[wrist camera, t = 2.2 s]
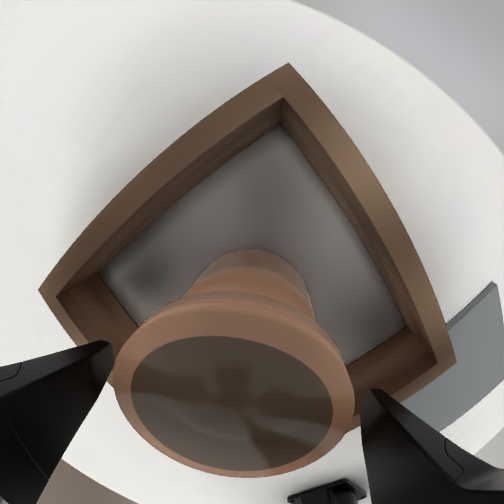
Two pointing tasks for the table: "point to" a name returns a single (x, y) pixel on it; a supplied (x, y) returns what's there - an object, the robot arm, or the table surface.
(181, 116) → the table surface
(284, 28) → the table surface
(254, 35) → the table surface
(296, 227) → the table surface
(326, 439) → the terracotta pot
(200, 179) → the brown wooden square frame
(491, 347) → the slate mat
